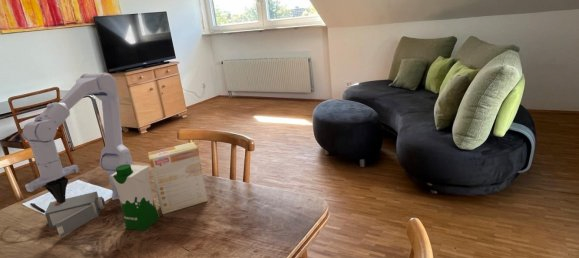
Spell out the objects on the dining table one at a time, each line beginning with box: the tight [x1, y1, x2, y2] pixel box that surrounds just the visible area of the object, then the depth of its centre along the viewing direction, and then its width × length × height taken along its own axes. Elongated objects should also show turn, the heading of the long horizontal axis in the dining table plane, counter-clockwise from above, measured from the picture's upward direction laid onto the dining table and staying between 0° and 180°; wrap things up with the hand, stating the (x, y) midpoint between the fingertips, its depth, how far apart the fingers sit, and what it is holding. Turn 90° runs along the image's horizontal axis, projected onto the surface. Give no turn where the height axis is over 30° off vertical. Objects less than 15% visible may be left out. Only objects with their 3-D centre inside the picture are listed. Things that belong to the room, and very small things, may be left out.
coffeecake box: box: [147, 141, 209, 215], centre depth 120 cm, size 15×7×20 cm, turn 115°
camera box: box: [44, 191, 106, 230], centre depth 120 cm, size 16×8×6 cm, turn 112°
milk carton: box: [110, 164, 160, 232], centre depth 110 cm, size 9×9×20 cm
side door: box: [56, 202, 98, 238], centre depth 113 cm, size 13×1×5 cm, turn 152°
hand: (61, 202), depth 111 cm, fingers closed
